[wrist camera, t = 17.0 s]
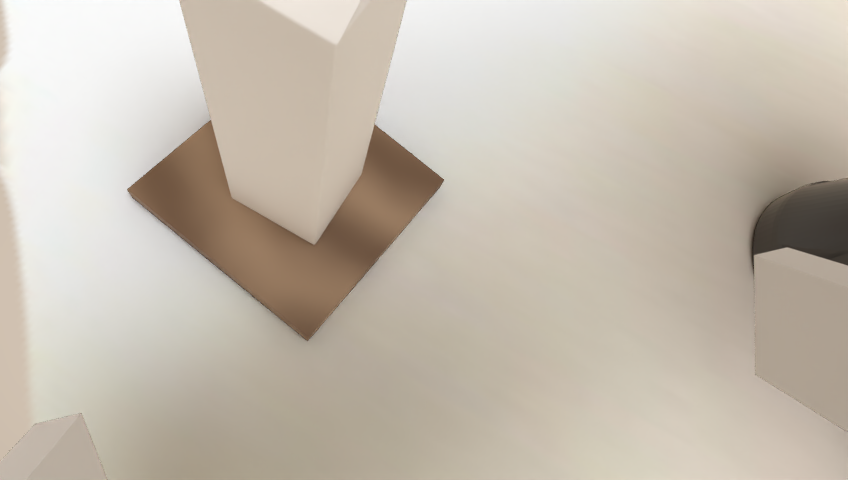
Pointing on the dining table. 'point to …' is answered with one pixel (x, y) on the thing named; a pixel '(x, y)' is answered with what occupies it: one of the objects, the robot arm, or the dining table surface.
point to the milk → (293, 97)
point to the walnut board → (276, 246)
